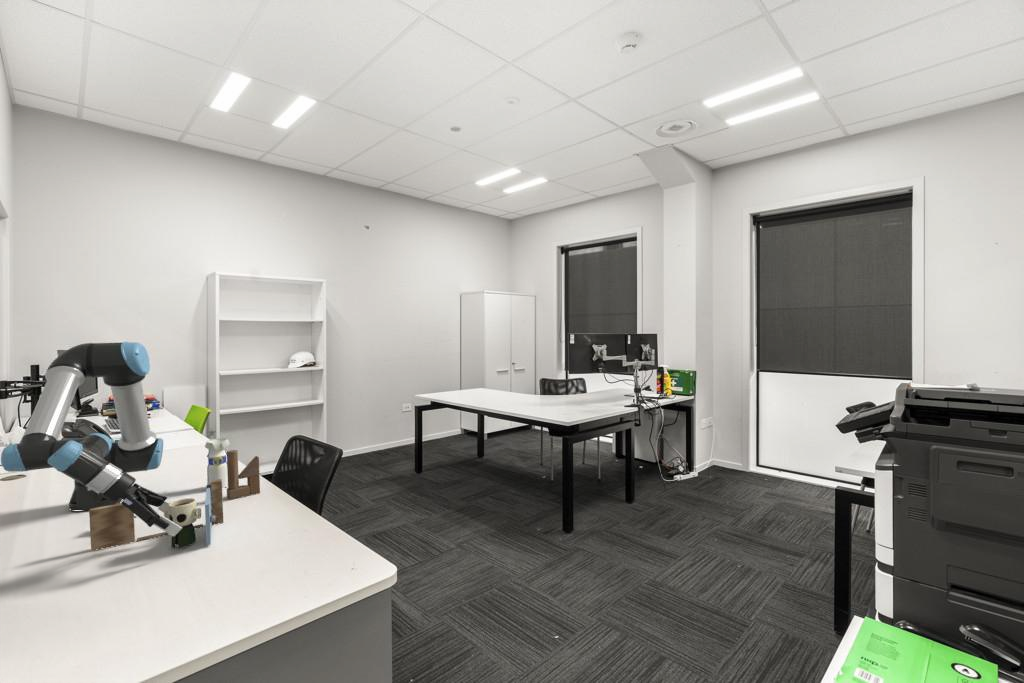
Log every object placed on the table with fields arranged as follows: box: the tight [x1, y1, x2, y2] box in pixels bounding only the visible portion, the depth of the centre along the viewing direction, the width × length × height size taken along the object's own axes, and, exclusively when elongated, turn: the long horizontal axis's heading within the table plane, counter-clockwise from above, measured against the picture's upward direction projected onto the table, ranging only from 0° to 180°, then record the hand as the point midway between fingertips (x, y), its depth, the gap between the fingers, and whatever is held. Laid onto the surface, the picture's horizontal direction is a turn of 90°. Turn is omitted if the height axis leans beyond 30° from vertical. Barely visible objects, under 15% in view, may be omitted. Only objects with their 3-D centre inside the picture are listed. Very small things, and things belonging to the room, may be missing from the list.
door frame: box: [88, 479, 224, 551], centre depth 151 cm, size 33×2×14 cm, turn 126°
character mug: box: [163, 497, 202, 549], centre depth 143 cm, size 11×7×13 cm, turn 90°
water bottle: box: [204, 428, 230, 489], centre depth 196 cm, size 8×9×25 cm
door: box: [204, 488, 215, 546], centre depth 150 cm, size 18×2×12 cm, turn 31°
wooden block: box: [226, 449, 261, 500], centre depth 186 cm, size 4×11×18 cm, turn 134°
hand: (179, 524), depth 143 cm, fingers open, 13 cm apart
